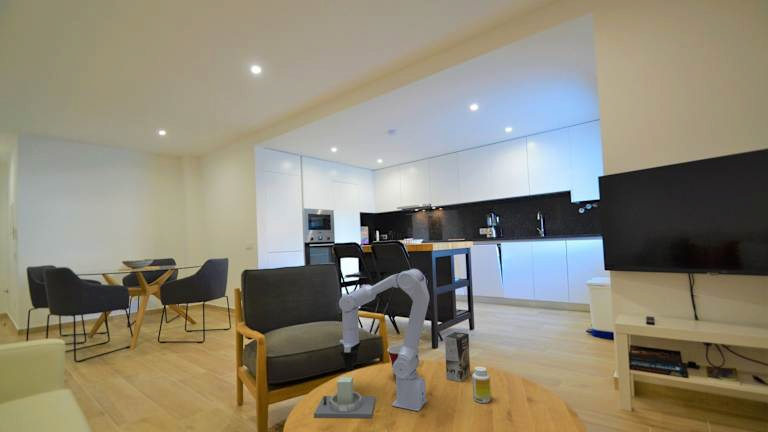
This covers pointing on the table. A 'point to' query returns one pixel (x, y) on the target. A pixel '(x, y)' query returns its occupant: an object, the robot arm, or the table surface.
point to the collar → (343, 407)
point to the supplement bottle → (481, 385)
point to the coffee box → (457, 356)
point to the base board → (361, 412)
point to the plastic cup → (394, 353)
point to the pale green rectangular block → (345, 390)
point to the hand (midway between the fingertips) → (351, 366)
